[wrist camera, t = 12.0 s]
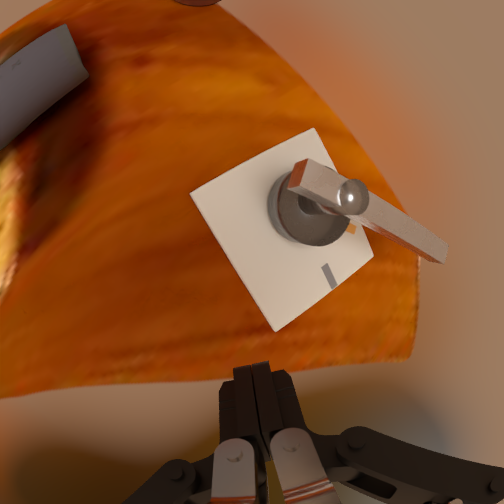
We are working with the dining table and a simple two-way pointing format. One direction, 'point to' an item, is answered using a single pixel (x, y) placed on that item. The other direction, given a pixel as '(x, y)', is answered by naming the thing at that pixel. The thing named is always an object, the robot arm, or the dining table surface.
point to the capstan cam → (341, 211)
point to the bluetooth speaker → (37, 80)
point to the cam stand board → (276, 234)
